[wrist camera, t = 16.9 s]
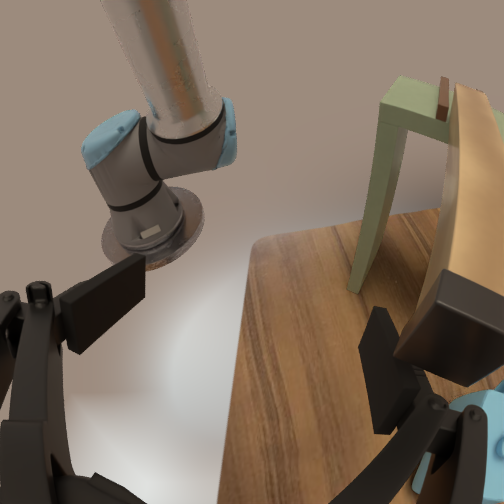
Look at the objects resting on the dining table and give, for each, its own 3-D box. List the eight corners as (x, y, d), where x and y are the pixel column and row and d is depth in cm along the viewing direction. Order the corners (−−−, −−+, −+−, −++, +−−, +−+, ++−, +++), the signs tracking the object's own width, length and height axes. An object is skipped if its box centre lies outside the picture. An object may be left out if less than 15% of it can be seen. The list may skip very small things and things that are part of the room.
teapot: (394, 423, 30) (437, 405, 20) (484, 385, 30) (537, 350, 19) (410, 535, 18) (457, 557, 8) (503, 484, 18) (561, 476, 8)
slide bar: (391, 356, 9) (434, 301, 6) (447, 116, 20) (453, 79, 17) (466, 388, 7) (530, 346, 4) (479, 129, 18) (488, 93, 15)
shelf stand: (346, 289, 44) (381, 86, 20) (371, 238, 50) (400, 64, 26) (435, 328, 38) (543, 152, 14) (448, 271, 43) (519, 109, 19)
